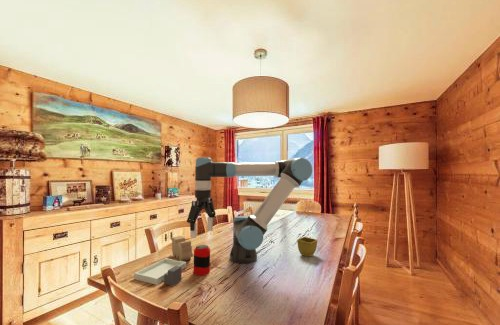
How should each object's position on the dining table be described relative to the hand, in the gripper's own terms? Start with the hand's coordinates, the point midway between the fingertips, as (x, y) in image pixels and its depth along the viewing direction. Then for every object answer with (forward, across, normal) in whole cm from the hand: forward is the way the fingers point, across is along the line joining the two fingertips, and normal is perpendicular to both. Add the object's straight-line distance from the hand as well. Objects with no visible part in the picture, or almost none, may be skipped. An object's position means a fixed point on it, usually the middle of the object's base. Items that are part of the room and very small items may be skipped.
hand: (202, 233), depth 108 cm
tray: (+18, +8, -17) cm, 26 cm away
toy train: (+18, -11, -21) cm, 30 cm away
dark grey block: (+18, +13, -6) cm, 23 cm away
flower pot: (+18, -43, +43) cm, 64 cm away
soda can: (+18, 0, 0) cm, 18 cm away
